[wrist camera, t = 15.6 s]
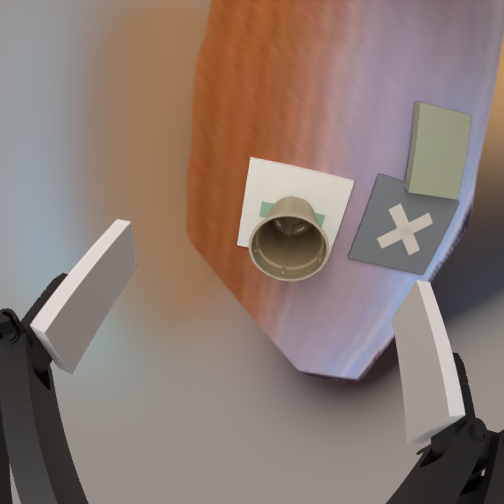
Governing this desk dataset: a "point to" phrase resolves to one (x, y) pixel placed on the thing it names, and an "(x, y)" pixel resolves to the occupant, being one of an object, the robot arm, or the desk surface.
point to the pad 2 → (401, 227)
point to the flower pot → (289, 242)
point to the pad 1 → (292, 184)
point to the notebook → (437, 151)
